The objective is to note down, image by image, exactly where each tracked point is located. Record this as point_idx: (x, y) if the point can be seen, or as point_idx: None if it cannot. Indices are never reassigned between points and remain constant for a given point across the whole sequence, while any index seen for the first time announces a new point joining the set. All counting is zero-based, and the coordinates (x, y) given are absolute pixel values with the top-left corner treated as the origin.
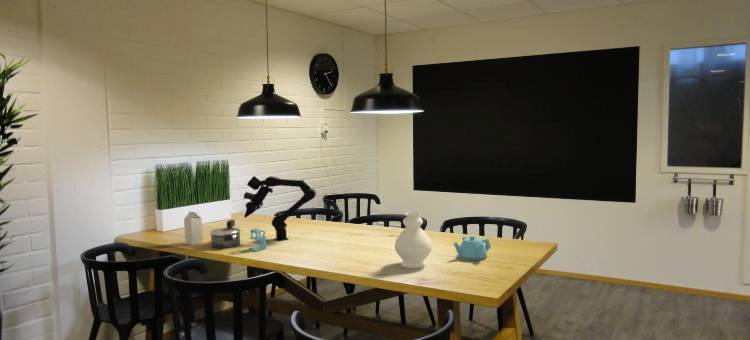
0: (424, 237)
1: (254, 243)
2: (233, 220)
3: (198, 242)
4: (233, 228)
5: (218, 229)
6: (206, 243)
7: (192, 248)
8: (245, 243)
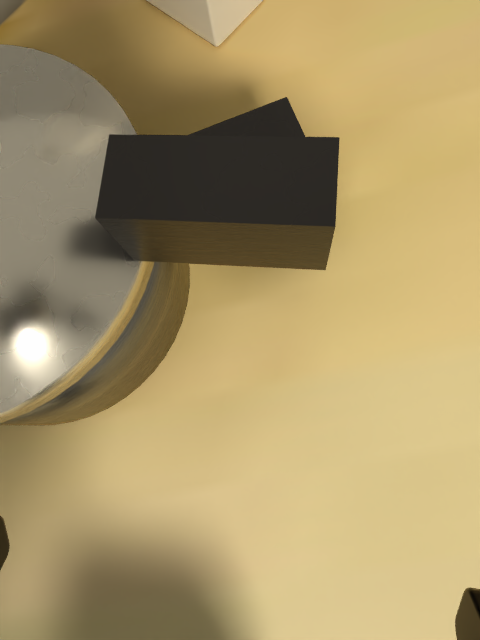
0: None
1: (67, 587)
2: (246, 225)
3: (180, 16)
4: (57, 305)
5: (47, 110)
6: (190, 85)
7: (24, 36)
8: (95, 475)
